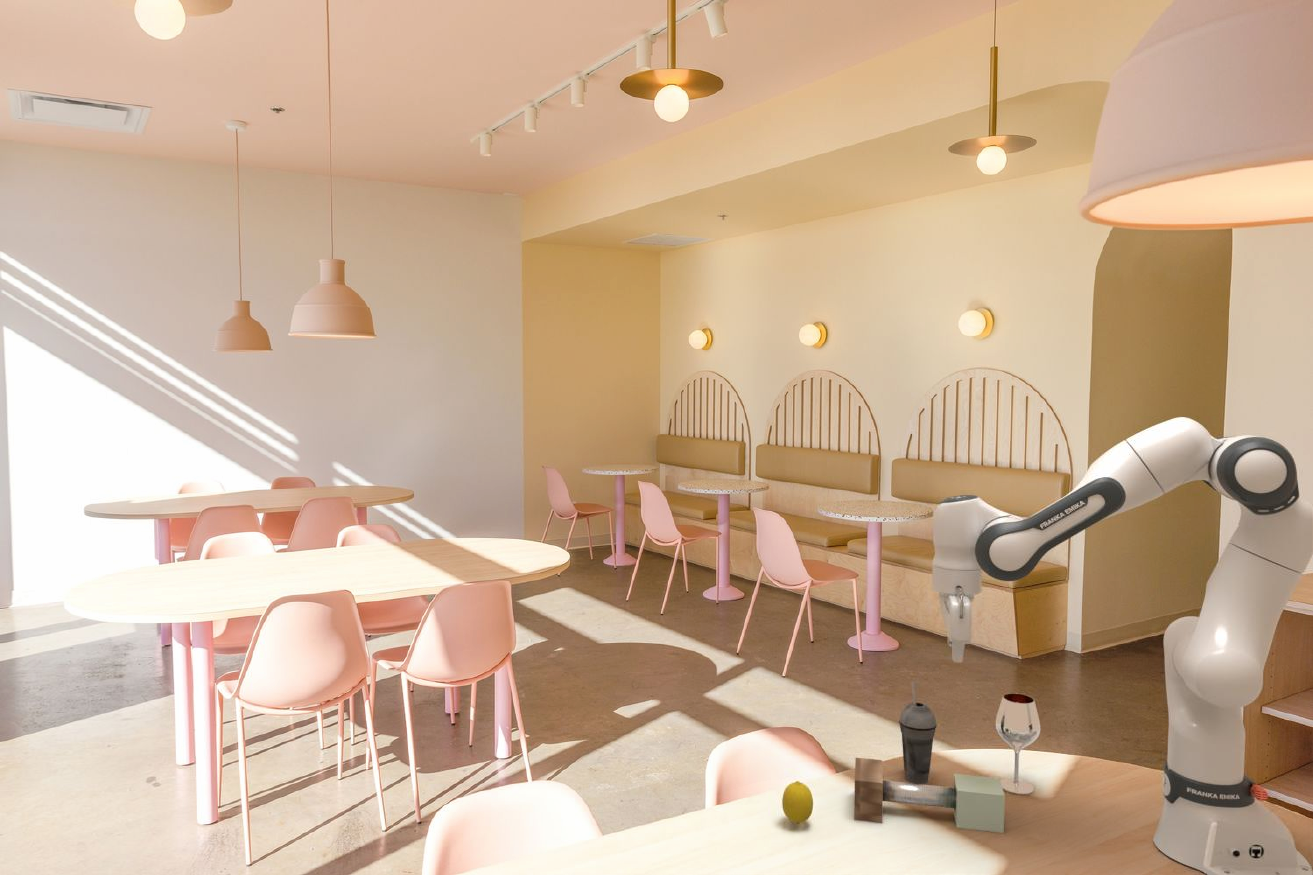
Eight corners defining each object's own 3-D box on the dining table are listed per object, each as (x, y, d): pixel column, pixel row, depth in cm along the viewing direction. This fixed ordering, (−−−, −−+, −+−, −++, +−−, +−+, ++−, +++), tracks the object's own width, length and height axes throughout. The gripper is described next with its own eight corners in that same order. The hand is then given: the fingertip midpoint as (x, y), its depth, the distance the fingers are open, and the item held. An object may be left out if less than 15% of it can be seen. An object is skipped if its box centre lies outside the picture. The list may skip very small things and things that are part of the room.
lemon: (818, 823, 160) (819, 780, 159) (801, 835, 156) (802, 791, 155) (793, 813, 164) (793, 771, 163) (775, 824, 160) (776, 781, 159)
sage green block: (998, 814, 164) (999, 778, 163) (1003, 832, 157) (1004, 795, 156) (952, 809, 165) (953, 773, 165) (956, 827, 159) (957, 790, 158)
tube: (954, 803, 164) (955, 784, 163) (956, 812, 160) (956, 793, 160) (866, 793, 167) (866, 775, 167) (866, 802, 164) (866, 783, 164)
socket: (881, 797, 170) (882, 760, 169) (882, 823, 160) (882, 783, 160) (855, 794, 171) (855, 757, 171) (854, 819, 161) (854, 780, 161)
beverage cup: (937, 788, 174) (939, 689, 172) (899, 785, 175) (901, 687, 174) (933, 772, 181) (935, 677, 180) (896, 769, 182) (898, 675, 181)
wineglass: (1045, 796, 170) (1048, 706, 169) (1003, 796, 170) (1005, 705, 169) (1028, 777, 178) (1030, 691, 177) (987, 777, 179) (990, 690, 177)
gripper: (981, 595, 154) (979, 672, 155) (968, 570, 174) (967, 639, 175) (943, 593, 156) (941, 669, 157) (935, 569, 176) (933, 637, 176)
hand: (954, 653), depth 166 cm, fingers open, 8 cm apart
